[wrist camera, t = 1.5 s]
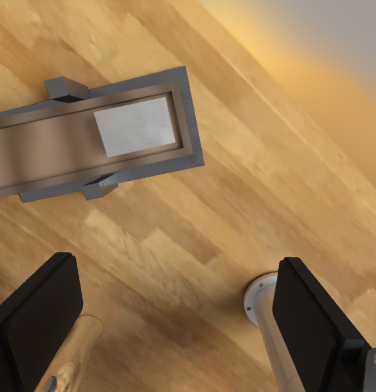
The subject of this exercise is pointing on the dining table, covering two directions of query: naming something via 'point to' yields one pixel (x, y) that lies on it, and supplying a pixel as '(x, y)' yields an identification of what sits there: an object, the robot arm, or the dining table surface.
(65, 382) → the beer glass
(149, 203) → the dining table surface
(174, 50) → the dining table surface
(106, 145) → the steel block
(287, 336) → the robot arm
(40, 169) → the long rimmed wooden tray
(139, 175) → the pivot stand
